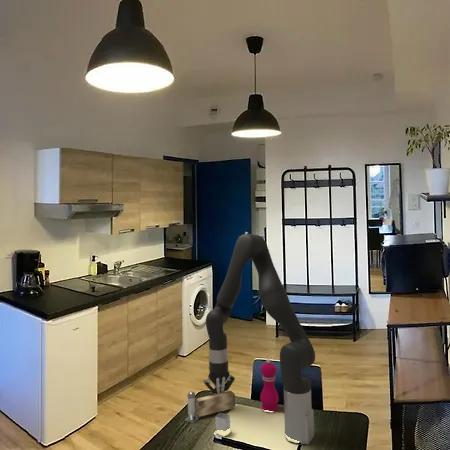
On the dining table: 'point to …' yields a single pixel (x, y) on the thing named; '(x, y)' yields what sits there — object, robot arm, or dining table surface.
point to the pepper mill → (269, 387)
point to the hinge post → (191, 408)
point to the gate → (215, 403)
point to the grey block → (222, 421)
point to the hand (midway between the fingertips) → (219, 401)
